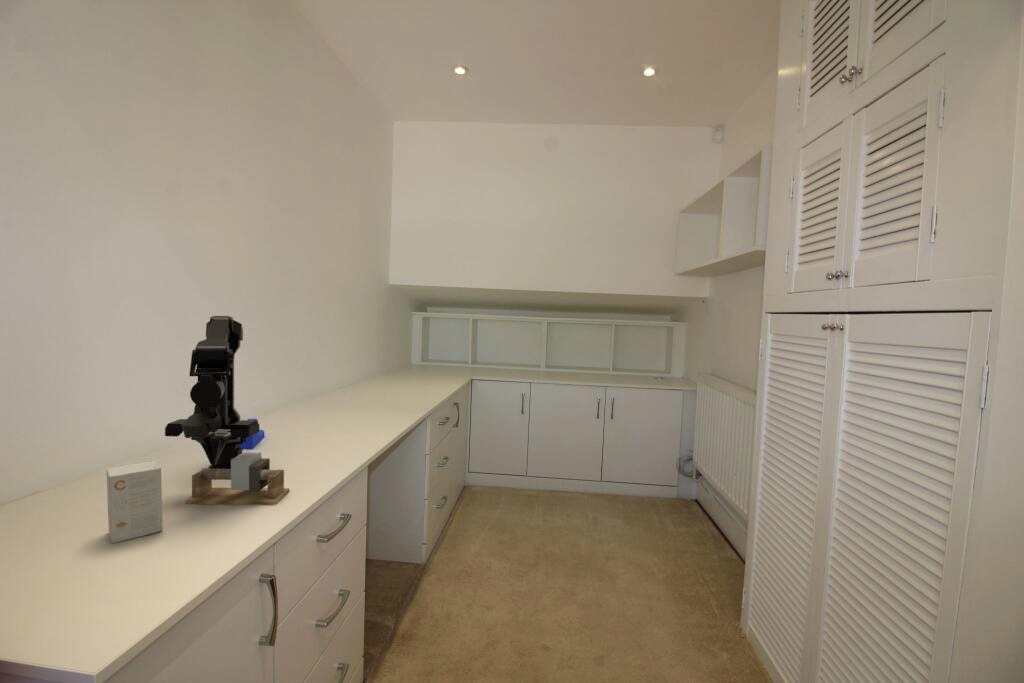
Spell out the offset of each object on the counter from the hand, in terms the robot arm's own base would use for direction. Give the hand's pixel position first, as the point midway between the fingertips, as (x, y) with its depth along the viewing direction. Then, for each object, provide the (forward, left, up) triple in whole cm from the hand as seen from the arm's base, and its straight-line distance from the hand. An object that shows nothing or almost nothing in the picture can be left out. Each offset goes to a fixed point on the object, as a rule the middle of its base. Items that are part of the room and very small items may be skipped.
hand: (213, 464), depth 115 cm
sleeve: (+7, 0, -5) cm, 9 cm away
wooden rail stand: (+6, 0, -8) cm, 10 cm away
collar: (+11, 0, -5) cm, 12 cm away
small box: (-5, -18, -8) cm, 20 cm away
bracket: (-15, +47, -8) cm, 50 cm away
